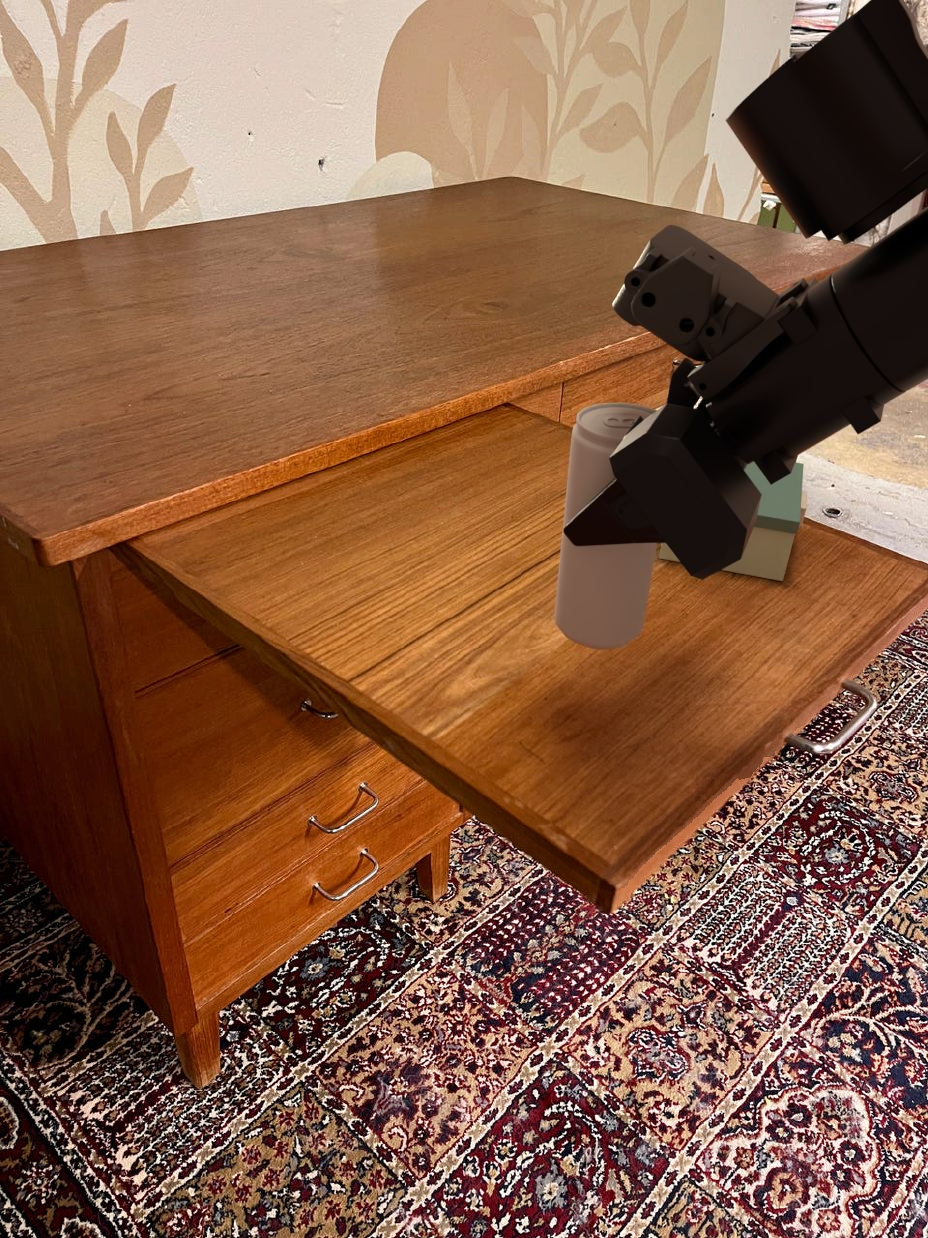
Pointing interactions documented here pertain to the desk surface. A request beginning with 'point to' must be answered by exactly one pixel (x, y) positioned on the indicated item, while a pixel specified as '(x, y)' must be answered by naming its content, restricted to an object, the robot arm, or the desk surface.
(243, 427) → the desk surface
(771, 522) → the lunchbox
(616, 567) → the beverage can
